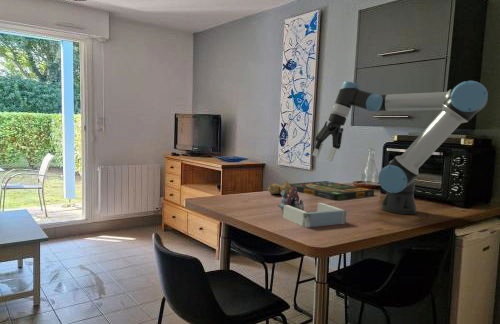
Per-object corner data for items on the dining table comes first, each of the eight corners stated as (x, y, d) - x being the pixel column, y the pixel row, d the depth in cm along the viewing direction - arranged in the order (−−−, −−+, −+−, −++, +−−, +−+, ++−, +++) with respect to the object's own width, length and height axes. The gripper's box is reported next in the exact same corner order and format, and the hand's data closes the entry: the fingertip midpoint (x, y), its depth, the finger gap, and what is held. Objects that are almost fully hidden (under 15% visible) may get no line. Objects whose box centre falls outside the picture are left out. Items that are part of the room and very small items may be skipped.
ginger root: (288, 196, 189) (286, 180, 190) (261, 199, 198) (259, 184, 199) (301, 193, 203) (299, 178, 203) (276, 196, 211) (274, 182, 212)
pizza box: (325, 186, 241) (326, 181, 241) (373, 196, 214) (374, 190, 214) (286, 190, 219) (286, 184, 219) (333, 201, 192) (334, 194, 192)
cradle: (283, 217, 150) (283, 205, 149) (320, 214, 159) (321, 202, 158) (305, 227, 136) (306, 213, 136) (345, 223, 145) (346, 210, 145)
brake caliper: (301, 211, 152) (286, 185, 155) (281, 223, 157) (267, 198, 160) (312, 206, 162) (298, 182, 165) (293, 218, 167) (280, 195, 170)
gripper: (343, 119, 185) (328, 159, 187) (319, 106, 165) (302, 151, 168) (357, 123, 180) (340, 164, 182) (333, 110, 161) (315, 156, 163)
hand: (322, 158), depth 175 cm, fingers open, 13 cm apart
